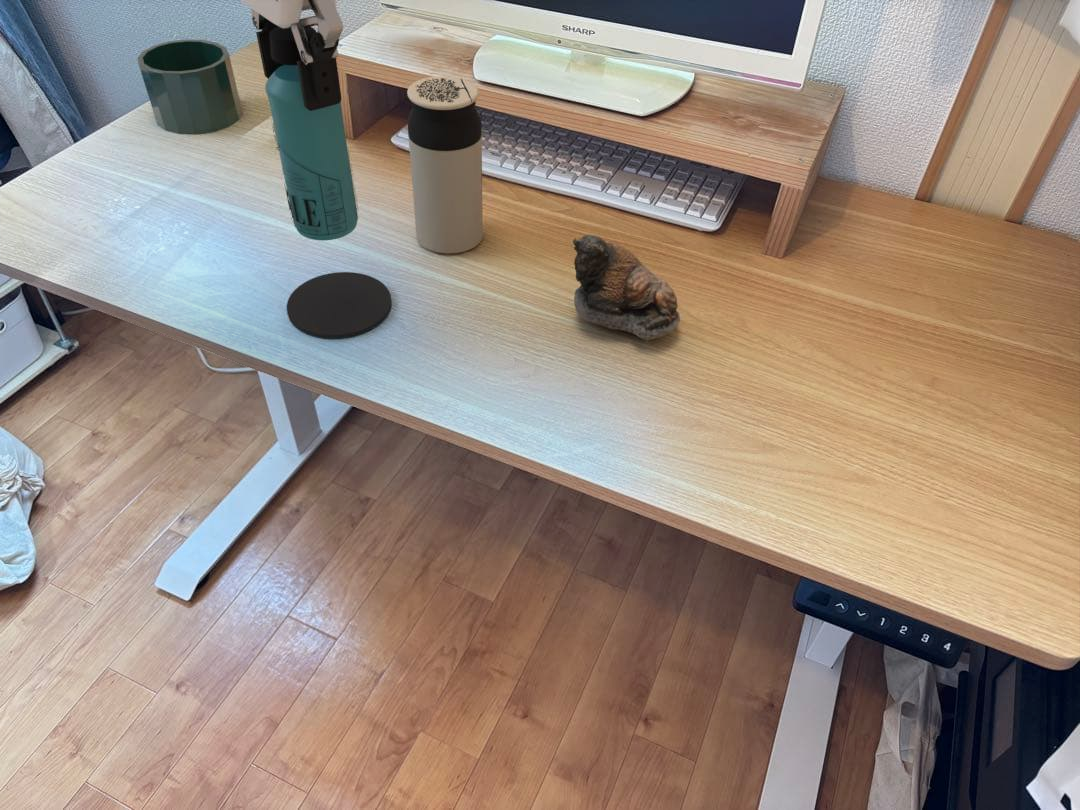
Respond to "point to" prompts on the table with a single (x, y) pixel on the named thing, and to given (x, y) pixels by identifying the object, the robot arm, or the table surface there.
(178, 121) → the pot
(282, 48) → the beverage bottle
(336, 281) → the coaster
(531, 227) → the table surface
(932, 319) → the table surface
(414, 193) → the travel mug
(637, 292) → the bison figurine
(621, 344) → the table surface
